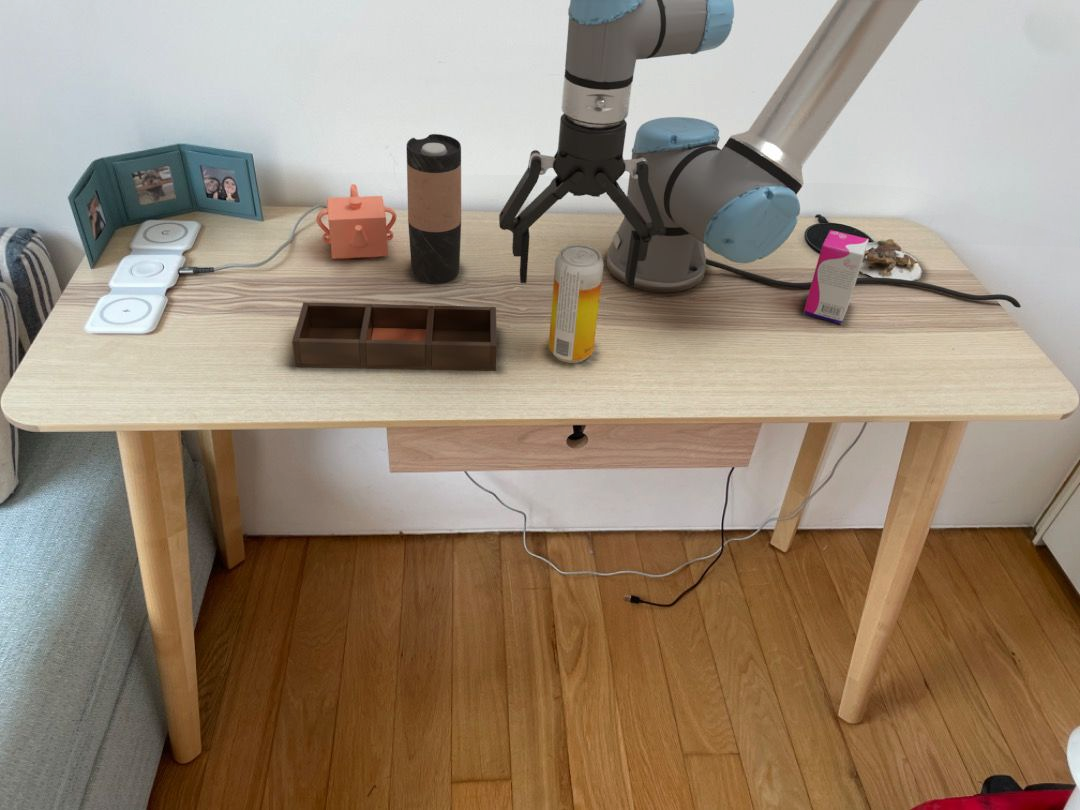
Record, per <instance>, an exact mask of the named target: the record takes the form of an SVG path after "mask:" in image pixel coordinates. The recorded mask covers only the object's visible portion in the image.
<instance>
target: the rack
mask: <svg viewBox="0 0 1080 810" xmlns="http://www.w3.org/2000/svg"><path fill="white" fill-rule="evenodd" d="M295 326H296V327H295V330H294V334H293V337H292V341H291V344H292V351H293V358H294V366H295V368H332V369H333V368H336V369H338V368H339V369H384V370H386V369H387V370H388V369H389V370H432V371H433V370H437V371H439V370H442V371H485V372H486V371H491V372H492V371H495V372H496V371H497V352H498V351H497V349H498V338H497V335H498V333H497V332H498V331H497V306H477V305H476V306H471V305H469V306H468V305H431V304H430V305H427V304H426V305H425V304H421V305H420V304H390V303H389V304H386V303H385V304H383V303H357V302H356V303H355V302H353V303H352V302H348V303H347V302H313V301H312V302H307V301H306V302H305V301H303V302H302V306H301V309H300V312H299V315H298V320H297V323H296V325H295Z"/></svg>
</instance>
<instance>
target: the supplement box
mask: <svg viewBox="0 0 1080 810" xmlns="http://www.w3.org/2000/svg"><path fill="white" fill-rule="evenodd" d="M827 233H828V234H827V235H826V238H825V239H824V241H823V244H822V245H821V249H820V251H819V255H818V259H817V262H816V266H815V270H814V273H813V277H812V280H811V282H812V284H811V287H810V288H809V291H808V294H807V298H806V301H805V306H804V309H803V315H804V316H805V315H806V316H809V317H814V318H817V319H820V320H824V321H828V322H831V323H835V324H838V325H842V323H843V322H844V319H845V316H846V315H847V311H848V309H849V305H850V302H851V299H852V296H853V292H854V290H855V286H856V284H857V283H856V280H857V278H859V277H858V276H859V273H860V271H859V270H860V267H861V264H862V261H863V257H864V254H865V251H866V247H867V244H868V243H869V240H870V239H869V238H866V237H861V236H857V235H854V234H849V233H845V232H842V231H841V232H840V231H836V230H832V229H829V231H828V232H827Z"/></svg>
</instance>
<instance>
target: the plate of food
mask: <svg viewBox="0 0 1080 810" xmlns="http://www.w3.org/2000/svg"><path fill="white" fill-rule="evenodd" d="M859 273H861V274H862V275H868V276H869V277H876V278H893V279H903V280H910V281H919V279H920V278H921V277H922V273H923V271H922V268H921V267H920V264H919V262H918V260H917V259H916V257H915V256H913V255H912V254H911V253H909V252H907V251H906V252H903V251H902V247H901V246H900V245H899V244H898V243H897V242H896V241H894V239H893V238H889V239H880V240H878V241H872V242H868V244H867V247H866V251H865V254H864V257H863V261H862V264H861V267H860V270H859Z"/></svg>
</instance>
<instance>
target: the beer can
mask: <svg viewBox="0 0 1080 810" xmlns="http://www.w3.org/2000/svg"><path fill="white" fill-rule="evenodd" d="M554 262H555V263H554V275H553V286H552V296H551V297H552V299H551V311H550V323H549V336H548V349H549V351H550V353H551V354H552V355H553V357H555V358H556V359H557V360H558V361H561V362H564V363H569V364H577V363H578V364H579V363H581V362H584V361H585V360H587V359H588V358H589V357H591V355H593V352H594V351H595V341H596V334H597V333H596V332H597V325H598V324H597V323H598V316H599V308H600V300H601V299H600V298H601V291H602V283H603V282H602V281H603V276H604V275H603V274H604V266H605V265H604V260H603V258H602V253H601V252H600V251H599V250H598V249H597V248H596V247H594V246H591V245H589V244H584V243H583V244H582V243H573V244H567V245H565V246H563V247H562V248H561V249H560V250H559V252H558V254H557V256H556V257H555V259H554Z"/></svg>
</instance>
